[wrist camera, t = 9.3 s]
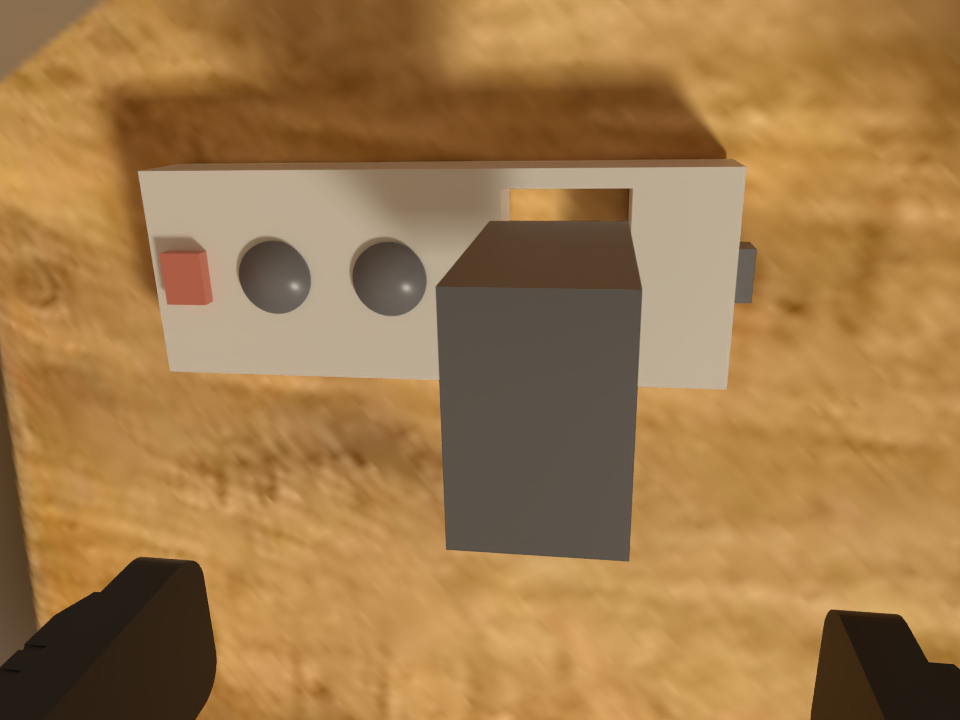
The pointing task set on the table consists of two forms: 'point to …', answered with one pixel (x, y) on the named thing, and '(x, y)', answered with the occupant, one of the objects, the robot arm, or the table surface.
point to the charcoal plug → (540, 389)
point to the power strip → (418, 260)
